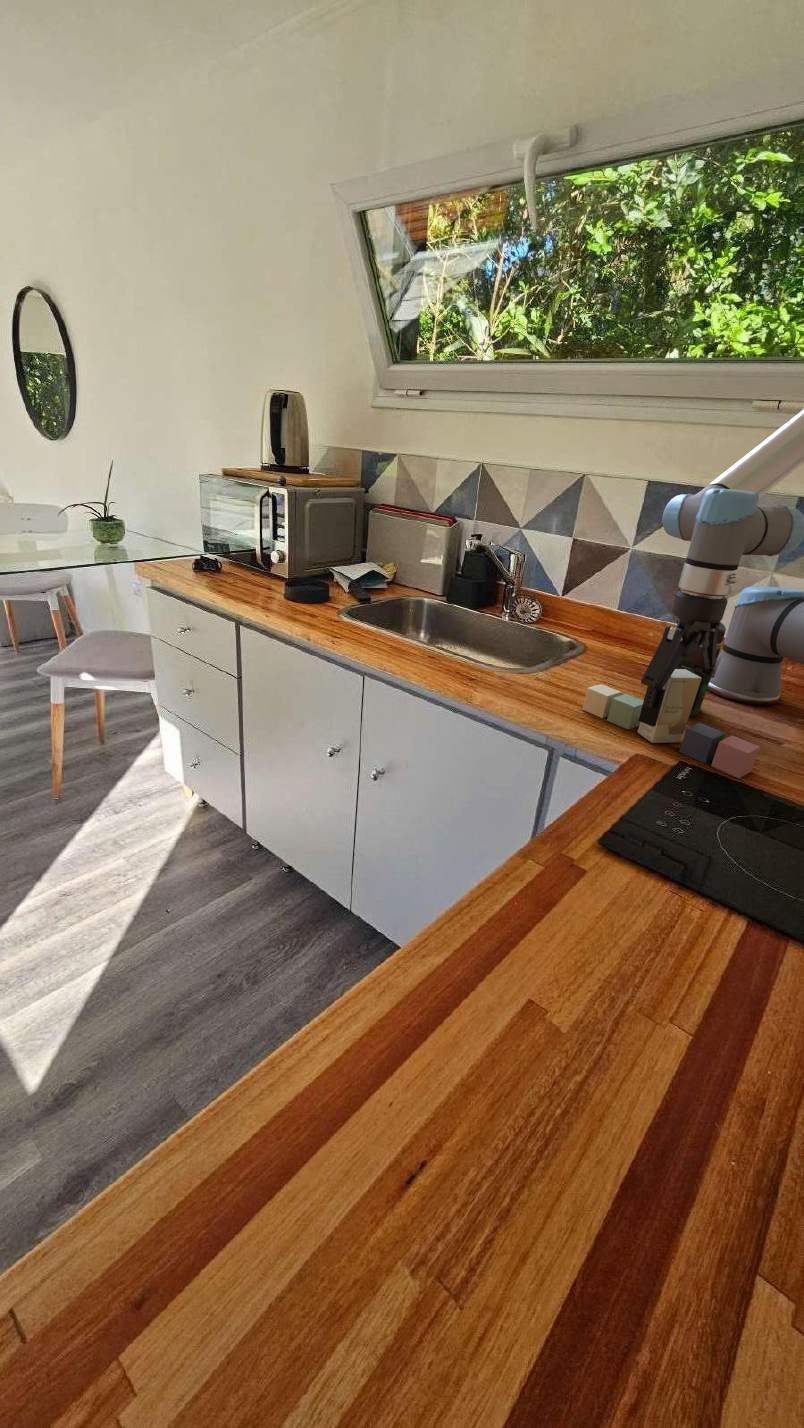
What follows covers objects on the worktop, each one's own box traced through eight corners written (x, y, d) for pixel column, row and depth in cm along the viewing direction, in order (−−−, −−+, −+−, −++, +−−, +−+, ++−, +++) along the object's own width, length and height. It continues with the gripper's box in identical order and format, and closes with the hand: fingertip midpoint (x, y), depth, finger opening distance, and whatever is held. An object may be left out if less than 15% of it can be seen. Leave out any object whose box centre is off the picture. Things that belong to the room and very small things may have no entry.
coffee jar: (698, 721, 113) (728, 627, 105) (654, 710, 116) (681, 617, 108) (700, 705, 121) (729, 616, 113) (659, 695, 124) (685, 608, 116)
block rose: (723, 759, 99) (731, 735, 97) (751, 771, 96) (760, 746, 94) (710, 766, 96) (719, 741, 94) (739, 778, 93) (748, 753, 91)
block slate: (691, 746, 102) (699, 722, 101) (717, 757, 99) (725, 732, 98) (678, 752, 100) (686, 728, 98) (704, 763, 97) (713, 738, 95)
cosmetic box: (651, 744, 102) (671, 677, 97) (636, 733, 105) (654, 668, 100) (682, 742, 103) (703, 677, 98) (666, 731, 107) (685, 667, 102)
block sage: (620, 715, 112) (626, 693, 110) (641, 724, 109) (648, 702, 107) (606, 720, 109) (612, 698, 108) (628, 730, 106) (634, 707, 104)
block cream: (595, 705, 116) (600, 683, 114) (615, 713, 113) (621, 691, 111) (582, 709, 113) (587, 687, 111) (602, 718, 110) (607, 696, 108)
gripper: (686, 606, 84) (649, 740, 93) (760, 591, 99) (722, 708, 108) (638, 594, 89) (607, 722, 98) (715, 582, 104) (683, 693, 113)
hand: (667, 715), depth 103 cm, fingers open, 13 cm apart
